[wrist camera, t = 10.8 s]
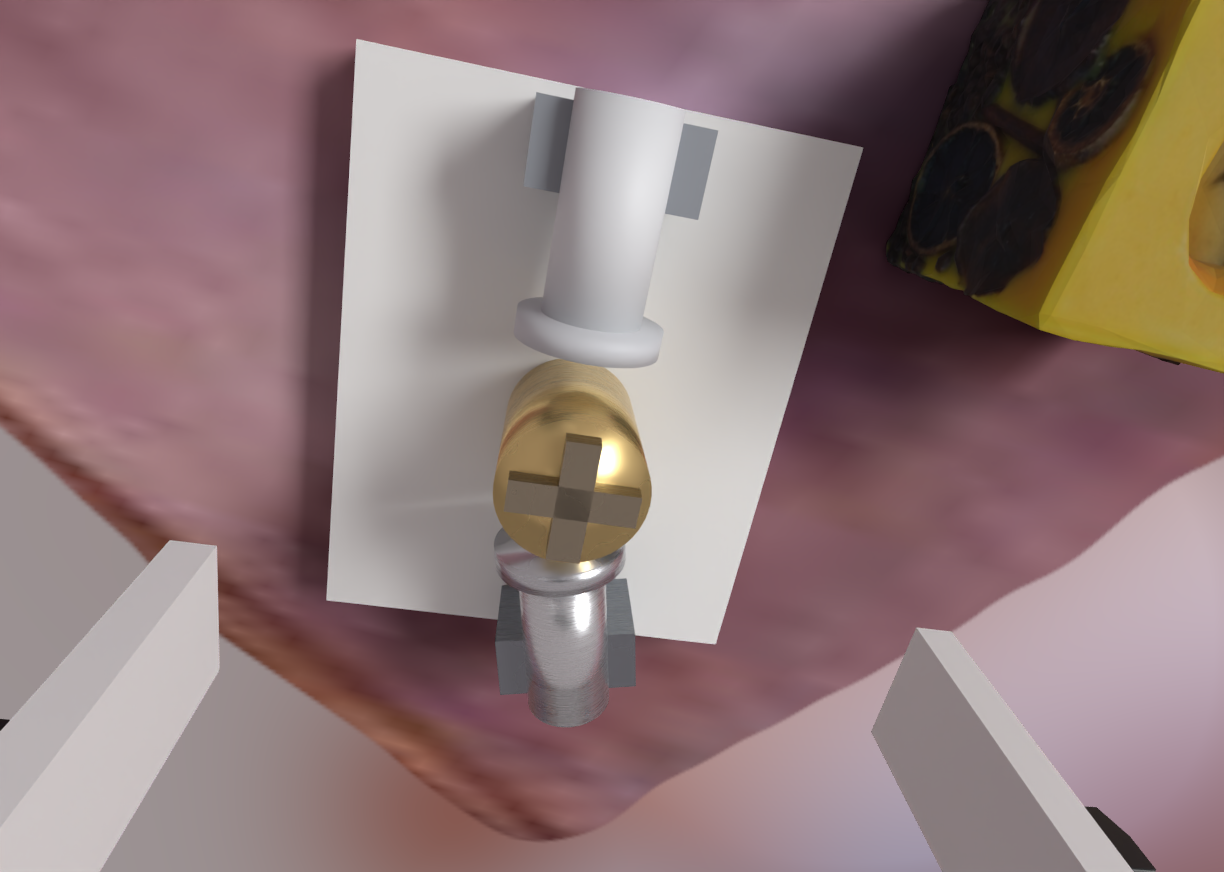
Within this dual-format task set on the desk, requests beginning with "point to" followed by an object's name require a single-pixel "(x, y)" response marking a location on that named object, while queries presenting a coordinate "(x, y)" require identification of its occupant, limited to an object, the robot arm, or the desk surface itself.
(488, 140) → the shaft base
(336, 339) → the desk surface
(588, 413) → the coupler
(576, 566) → the shaft out
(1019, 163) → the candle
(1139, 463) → the desk surface
